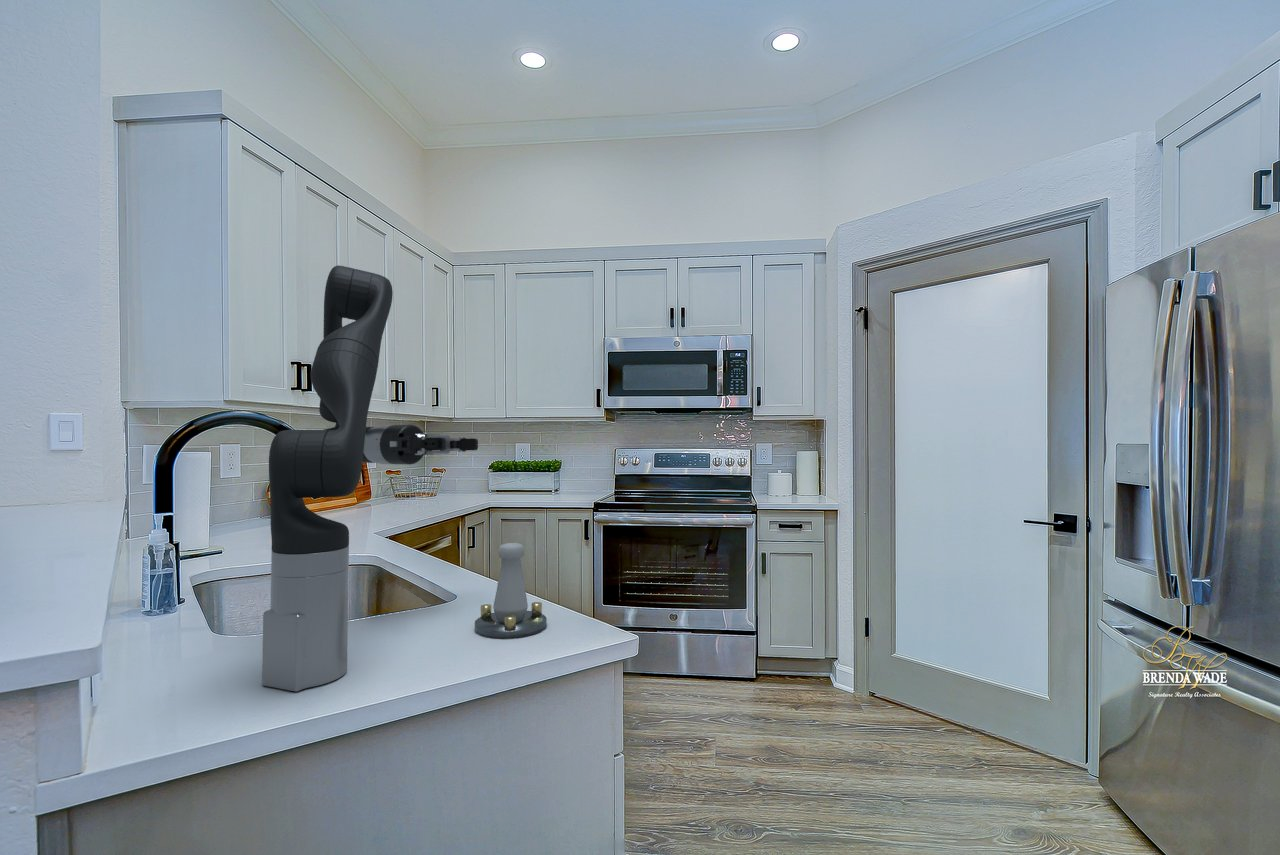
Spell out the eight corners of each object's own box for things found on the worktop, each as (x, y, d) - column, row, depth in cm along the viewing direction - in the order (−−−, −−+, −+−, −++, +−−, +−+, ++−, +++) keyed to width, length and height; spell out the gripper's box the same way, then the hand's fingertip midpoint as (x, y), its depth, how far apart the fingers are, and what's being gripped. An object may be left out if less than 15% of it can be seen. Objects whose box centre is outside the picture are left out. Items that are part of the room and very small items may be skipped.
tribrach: (523, 642, 95) (523, 622, 95) (459, 633, 99) (460, 614, 99) (558, 621, 107) (558, 602, 107) (500, 614, 111) (500, 596, 111)
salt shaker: (508, 627, 99) (508, 548, 99) (485, 621, 102) (486, 544, 103) (534, 619, 104) (535, 543, 104) (512, 613, 107) (513, 539, 107)
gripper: (363, 423, 109) (432, 421, 102) (422, 426, 122) (486, 424, 115) (362, 465, 108) (431, 465, 102) (421, 463, 121) (486, 464, 115)
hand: (461, 444), depth 108 cm, fingers open, 8 cm apart
